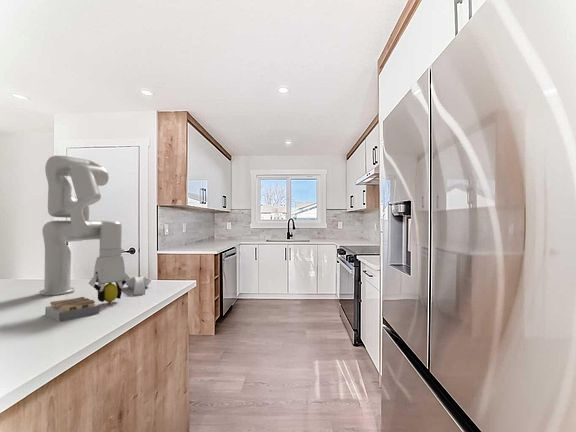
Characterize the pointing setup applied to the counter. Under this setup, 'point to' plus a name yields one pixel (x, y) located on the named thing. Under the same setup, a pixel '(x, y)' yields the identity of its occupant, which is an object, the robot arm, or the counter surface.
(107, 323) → the counter surface
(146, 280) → the spoon rest
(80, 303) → the pallet
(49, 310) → the dock
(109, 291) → the lemon
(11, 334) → the counter surface
